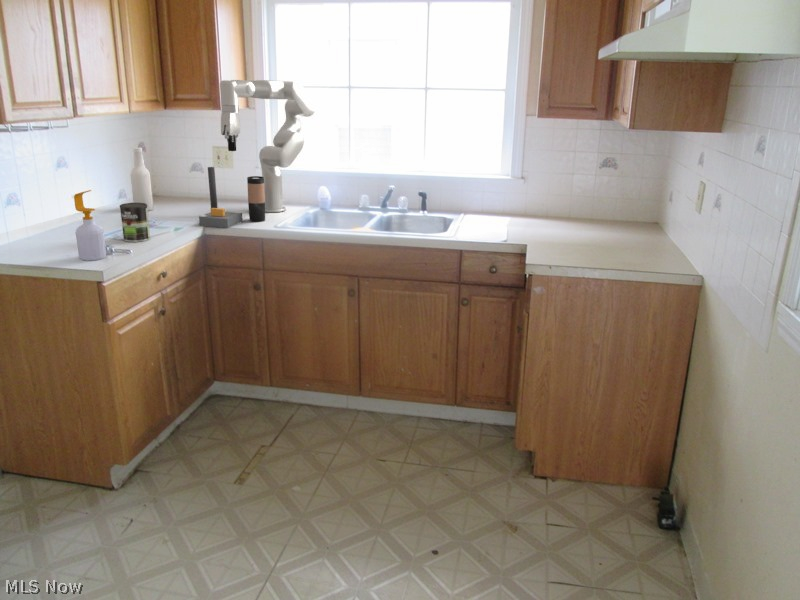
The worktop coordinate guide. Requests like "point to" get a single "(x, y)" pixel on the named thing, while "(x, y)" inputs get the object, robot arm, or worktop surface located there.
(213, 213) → the handle
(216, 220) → the grey square slab
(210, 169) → the post
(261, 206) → the travel mug
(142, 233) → the coffee can
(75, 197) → the soap bottle
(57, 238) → the worktop surface
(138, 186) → the alcohol
